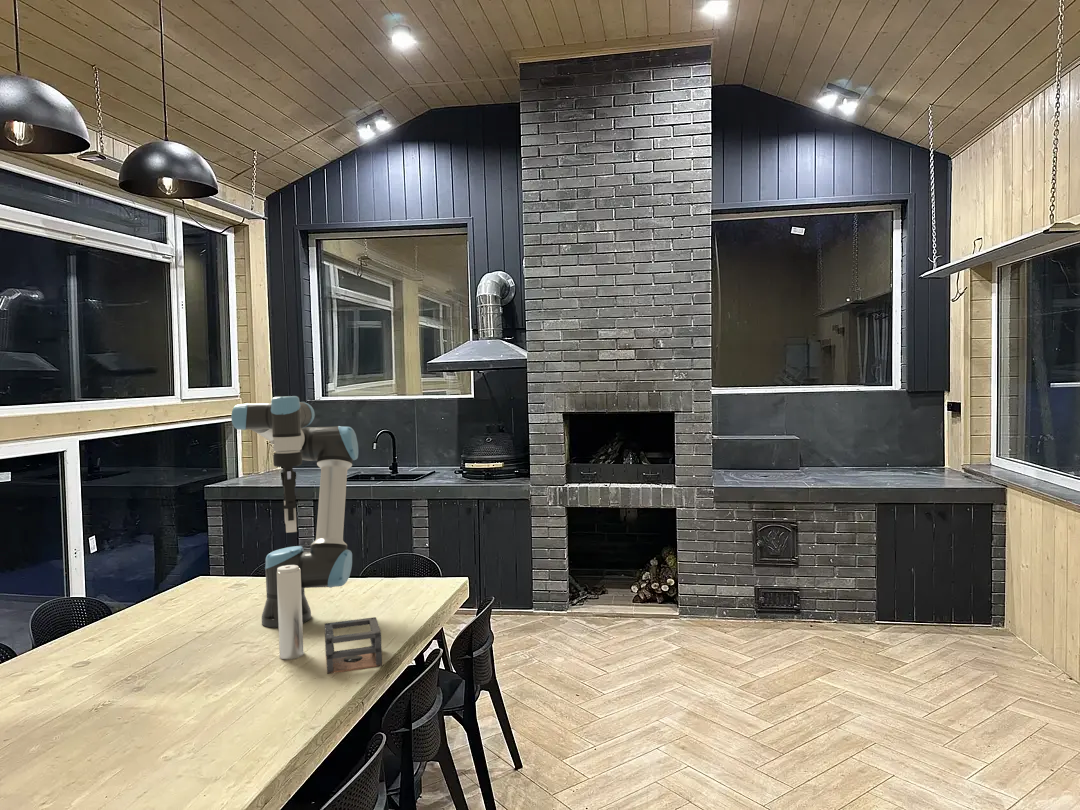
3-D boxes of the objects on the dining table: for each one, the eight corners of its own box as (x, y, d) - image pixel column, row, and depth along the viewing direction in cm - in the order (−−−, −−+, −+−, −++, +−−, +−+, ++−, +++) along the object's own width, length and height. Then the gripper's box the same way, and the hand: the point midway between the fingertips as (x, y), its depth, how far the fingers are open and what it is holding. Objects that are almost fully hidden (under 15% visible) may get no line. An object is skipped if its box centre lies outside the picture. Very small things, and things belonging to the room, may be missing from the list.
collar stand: (325, 655, 198) (324, 623, 198) (376, 648, 203) (375, 617, 202) (327, 674, 185) (326, 639, 185) (382, 666, 189) (380, 632, 189)
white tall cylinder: (296, 660, 195) (292, 569, 195) (274, 659, 197) (271, 569, 196) (308, 651, 202) (305, 564, 201) (287, 650, 203) (284, 563, 202)
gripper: (272, 448, 208) (275, 520, 208) (273, 456, 184) (276, 537, 185) (299, 447, 210) (302, 518, 211) (303, 454, 187) (307, 534, 188)
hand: (290, 527), depth 198 cm, fingers open, 13 cm apart
